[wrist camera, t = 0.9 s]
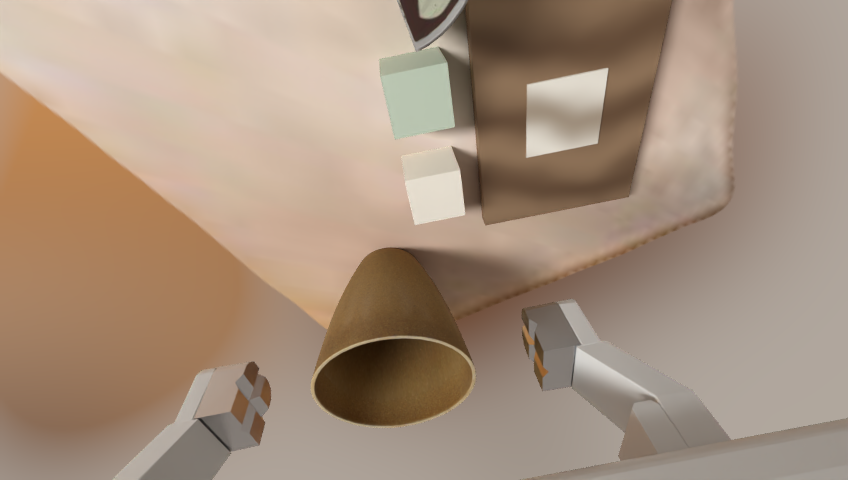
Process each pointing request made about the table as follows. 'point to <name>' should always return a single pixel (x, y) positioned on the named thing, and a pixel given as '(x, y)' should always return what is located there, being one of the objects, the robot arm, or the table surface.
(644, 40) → the board
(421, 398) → the plant pot
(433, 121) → the sage green block
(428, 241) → the table surface
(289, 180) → the table surface
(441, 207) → the cream block
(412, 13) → the food container
